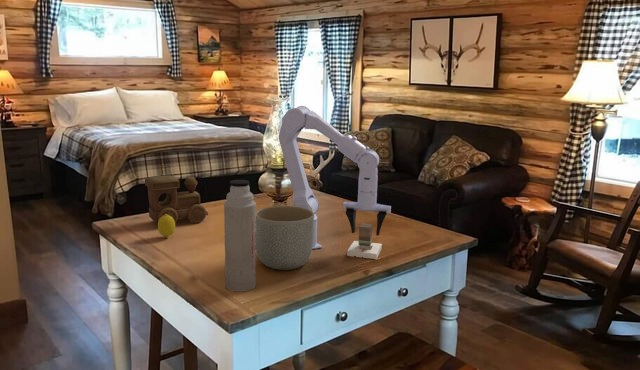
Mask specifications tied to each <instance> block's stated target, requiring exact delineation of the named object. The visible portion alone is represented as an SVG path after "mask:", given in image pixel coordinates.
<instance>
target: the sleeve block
mask: <svg viewBox="0 0 640 370" xmlns="http://www.w3.org/2000/svg"><path fill="white" fill-rule="evenodd" d="M358 241H359V240H353V242H352V243H351V244H350V246H349V247H348V249H347V252H346V253H347V254H346V255H347V256H349V257H354V256H356V257H355V258H362V257H363V258H365V259H373V260H377V259H378V257H379V255H380V253H381V251H382V248H383V247H382V246H383V244H382V243H377V242H372V243H371V245H370V246H362V245H359V243H358Z"/></svg>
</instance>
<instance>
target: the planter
mask: <svg viewBox="0 0 640 370" xmlns="http://www.w3.org/2000/svg"><path fill="white" fill-rule="evenodd" d="M313 231H314V212H313V211H311V210H309V209H306V208H303V207H297V206H294V205H271V206H266V207H262V208H259V209H256V257H257V258H258V259H259V261H260V262H261V263H262V264H263V265H265V266H266V267H268V268H269V269H273V270H279V271H288V270H294V269H298V268H300V267H302V266H303V265H305V264H306V263H307V262H308V261H309V260H310V258H311V256H312V253H313V249H312V247H313Z"/></svg>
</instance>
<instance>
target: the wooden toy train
mask: <svg viewBox="0 0 640 370" xmlns="http://www.w3.org/2000/svg"><path fill="white" fill-rule="evenodd" d="M183 183H184V185H185V187H186V189H187V191H180V192H178V189H180V188H181V187H180V179H179V178H178V177H176V176H175V175H170V174H169V175H154V176H146V177H144V186H145V187H146V188H147V197H148V203H149V207H148V217H149V218H150V219H151V220H152V221H153V222H154V223H157V222H158V221H159V219H160V218H161V217H162V216H164V215H165V214H167V215H169V216H171V217H172V218H173V219H174V221H175V224H176V223H177V222H178V220H181V219H188V221H189V222H191V223H192V224H199V223H202V222H203V221H204V220H205V218H206V216H208V215H209V213H208V211H207V209H206V208H205V206H204V205H203V204H201V195H200V193H199V192H198V191H195V190H196V187H197V185H198V181H197V180H196V178H195V176H187V178H186V179H185V181H184V182H183ZM162 194H165V195H166V196H165V199H164V200H163V201H159V198H160V196H161V195H162Z"/></svg>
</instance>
